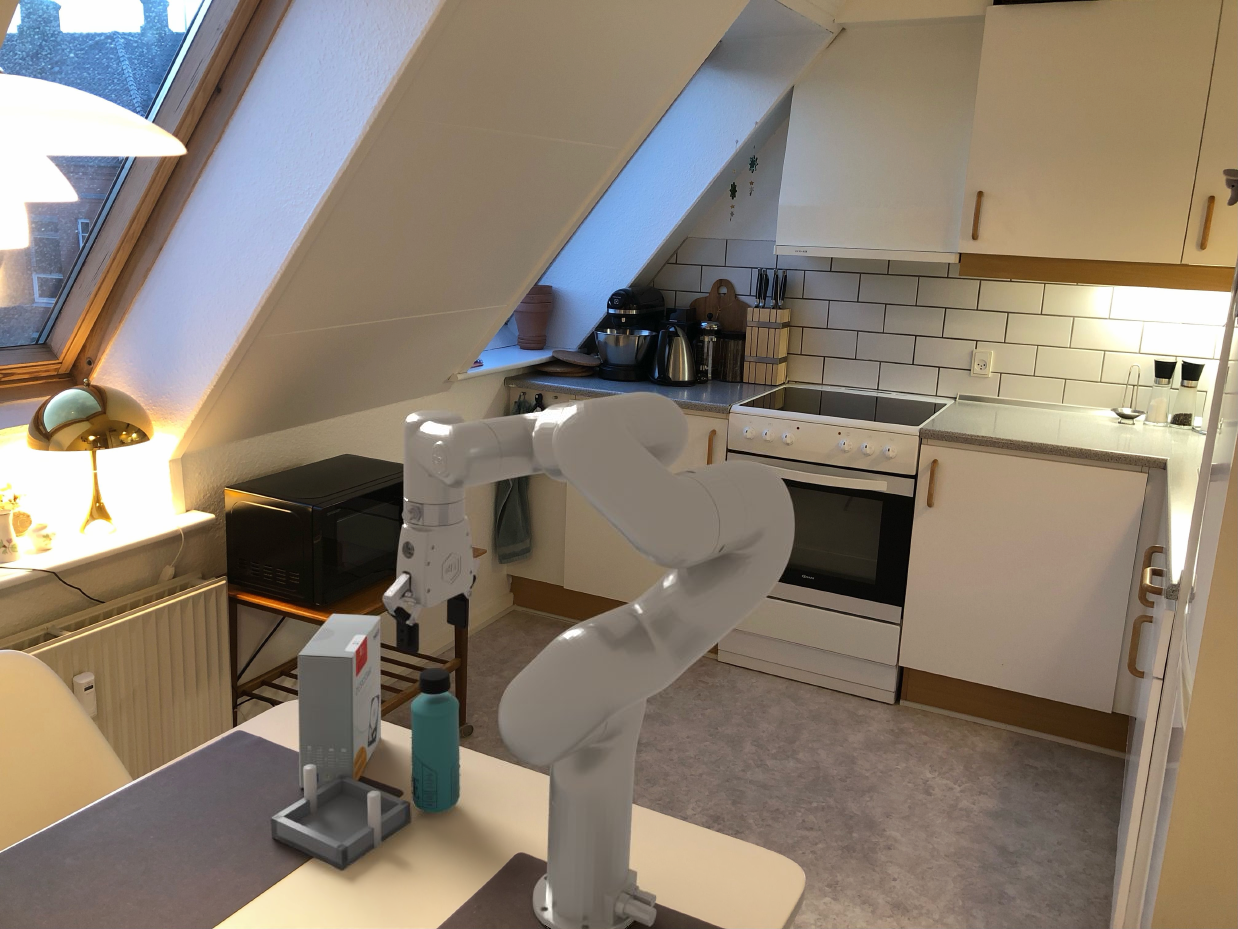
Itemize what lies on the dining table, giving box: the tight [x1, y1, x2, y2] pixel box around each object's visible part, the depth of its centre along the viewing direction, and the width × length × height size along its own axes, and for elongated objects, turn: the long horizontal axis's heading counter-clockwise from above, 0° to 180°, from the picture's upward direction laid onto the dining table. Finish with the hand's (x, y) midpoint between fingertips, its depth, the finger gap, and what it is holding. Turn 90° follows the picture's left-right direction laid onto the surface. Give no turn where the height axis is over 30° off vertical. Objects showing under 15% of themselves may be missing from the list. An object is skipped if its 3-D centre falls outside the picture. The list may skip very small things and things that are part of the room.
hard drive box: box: [297, 613, 382, 789], centre depth 141 cm, size 16×8×20 cm, turn 179°
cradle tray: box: [270, 764, 412, 871], centre depth 126 cm, size 13×12×7 cm
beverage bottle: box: [409, 667, 462, 813], centre depth 130 cm, size 6×7×20 cm
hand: (433, 637), depth 127 cm, fingers open, 9 cm apart
